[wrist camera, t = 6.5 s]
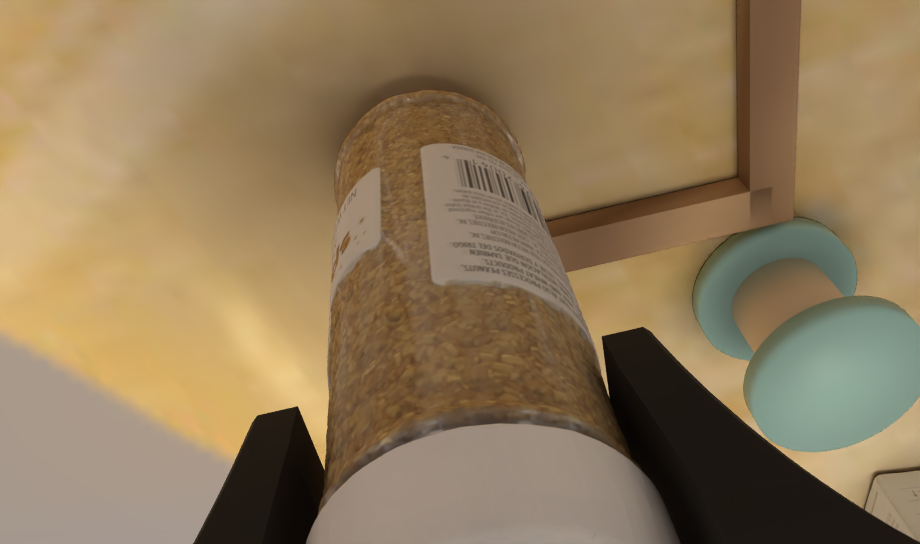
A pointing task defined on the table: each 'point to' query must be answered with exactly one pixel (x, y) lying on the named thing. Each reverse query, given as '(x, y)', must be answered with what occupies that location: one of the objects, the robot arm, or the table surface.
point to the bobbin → (808, 336)
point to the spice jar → (462, 351)
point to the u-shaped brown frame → (726, 202)
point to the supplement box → (897, 501)
